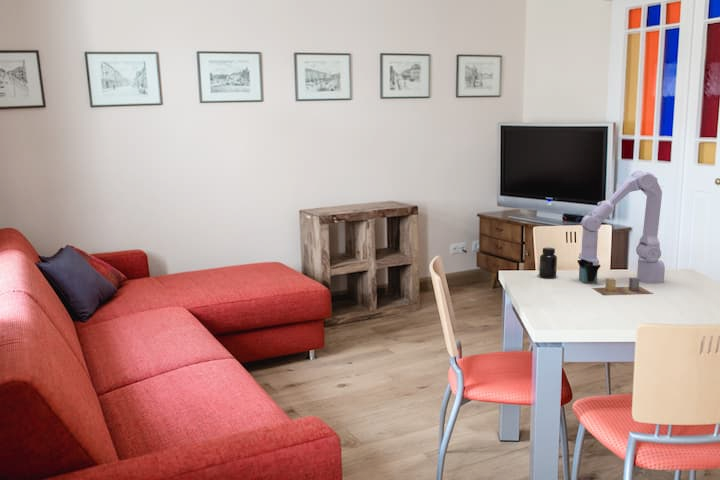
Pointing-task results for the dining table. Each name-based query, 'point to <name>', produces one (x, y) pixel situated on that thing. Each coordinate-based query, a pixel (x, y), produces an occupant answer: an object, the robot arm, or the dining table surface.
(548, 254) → the supplement bottle
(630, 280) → the steel post
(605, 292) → the base board
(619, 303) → the dining table surface
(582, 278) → the teal foam cube
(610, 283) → the tan wooden block
